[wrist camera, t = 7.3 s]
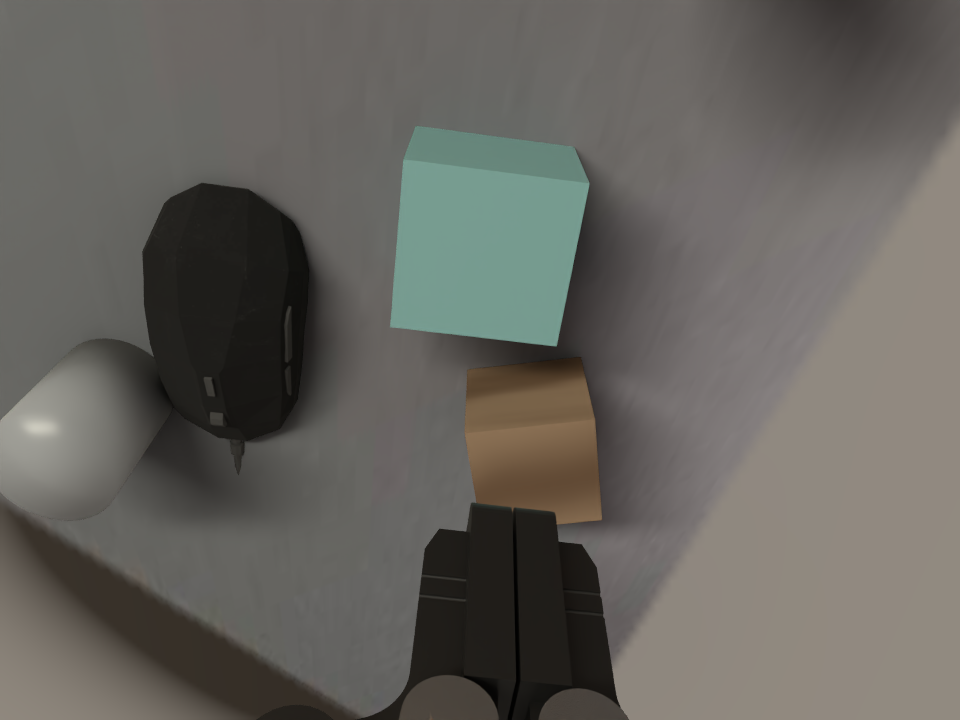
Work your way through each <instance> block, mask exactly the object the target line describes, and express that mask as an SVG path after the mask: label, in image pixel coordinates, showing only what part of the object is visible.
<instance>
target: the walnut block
mask: <svg viewBox="0 0 960 720" xmlns="http://www.w3.org/2000/svg"><path fill="white" fill-rule="evenodd" d="M465 438H466V444H467V450H468V455H469V461H470V467H471V473H472V479H473V484H474V490H475V496H476V502H477V503H480V504H489V505H498V506H506V507H511V508H512V512H513V509H514V507H517V508H526V509H535V510H544V511H552V512H555V515H556V522H557V524H566V523H577V522H587V521H597V520H602V512H601V498H600V484H599V470H598V455H597V441H596V427H595V417H594V413H593V409H592V404H591V400H590V395H589V391H588V387H587V382H586V378H585V373H584V369H583V365H582V360H581V357H575V358H566V359H557V360H548V361H539V362H531V363H522V364H513V365H504V366H495V367H486V368H477V369H468V370H467V391H466V414H465Z"/></svg>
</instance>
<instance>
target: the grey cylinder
mask: <svg viewBox="0 0 960 720" xmlns="http://www.w3.org/2000/svg"><path fill="white" fill-rule="evenodd" d="M172 408H173V404H172V402H171V400H170V398H169V396H168V394H167V392H166V390H165V387H164V385H163V383H162V381H161V378H160V375H159V372H158V368H157V365H156V362H155V358H153V357H152V356H151V355H150V354H148V353H147V352H145V351H144V350H142V349H140V348H139V347H137V346H135V345H132V344H130V343H127V342H123V341H120V340H114V339H95V340H90V341H86V342H83V343H81V344H79V345H77V346H76V347H75V348H73V349H72V350H71V351H70V352H69V353H68V354H67V355H66V356H65V357H64V358H63V359H62V360H61V361H60V362H59V363H58V364H57V365H56V366H55V367H54V368H53V369H52V370H51V371H50V372H49V373H48V374H47V375H46V376H45V377H44V378H43V379H42V380H41V381H40V382H39V383H38V384H37V385H36V386H35V387H34V388H33V389H32V390H31V391H30V392H29V393H28V394H27V395H26V396H25V397H24V398H23V399H22V400H21V401H20V402H19V403H18V404H16V405H15V406H14V407H13V408H12V409H11V410H10V411H9V412H8V413H7V414H6V415H5V416H4V417H3V418H2V419H1V420H0V492H1V493H2V494H3V495H4V496H5V497H6V498H7V499H8V500H10V501H11V502H13V503H14V504H16V505H17V506H19V507H21V508H22V509H24V510H26V511H28V512H31V513H33V514H36V515H38V516H41V517H45V518H49V519H55V520H64V521H73V520H81V519H86V518H90V517H92V516H95V515H97V514H99V513H100V512H102V511H103V510H105V509H106V508H107V507H108V506H109V505H110V503H111V502H112V501H113V499H114V498H115V496H116V495H117V493H118V492H119V490H120V489H121V487H122V486H123V484H124V483H125V481H126V480H127V478H128V477H129V475H130V474H131V472H132V471H133V469H134V468H135V466H136V465H137V463H138V462H139V460H140V459H141V457H142V456H143V454H144V453H145V451H146V450H147V448H148V447H149V445H150V444H151V442H152V441H153V439H154V438H155V436H156V435H157V433H158V432H159V430H160V429H161V427H162V426H163V424H164V423H165V421H166V420H167V418H168V417H169V415H170V413H171V411H172Z"/></svg>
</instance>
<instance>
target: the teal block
mask: <svg viewBox="0 0 960 720" xmlns="http://www.w3.org/2000/svg"><path fill="white" fill-rule="evenodd" d="M589 184H590V183H589V181H588V178H587V176H586V174H585V171H584V169H583V167H582V165H581V162H580V160H579V158H578V155H577V153H576V151H575V148H574V147H570V146H563V145H555V144H548V143H540V142H533V141H525V140H518V139H511V138H503V137H496V136H488V135H481V134H473V133H466V132H458V131H451V130H443V129H436V128H428V127H421V126H416V127H415V130H414V132H413V135H412V138H411V141H410V143H409V146H408V149H407V151H406V154H405V157H404V160H403V173H402V186H401V198H400V211H399V223H398V236H397V249H396V261H395V274H394V286H393V299H392V312H391V324H390V327H394V328H403V329H412V330H420V331H429V332H437V333H446V334H454V335H463V336H471V337H480V338H488V339H497V340H505V341H514V342H523V343H531V344H540V345H548V346H557V342H558V337H559V332H560V327H561V322H562V317H563V312H564V307H565V302H566V298H567V293H568V288H569V283H570V278H571V273H572V268H573V263H574V258H575V253H576V248H577V243H578V238H579V234H580V229H581V224H582V219H583V214H584V209H585V204H586V199H587V194H588V189H589Z"/></svg>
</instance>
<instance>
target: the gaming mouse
mask: <svg viewBox="0 0 960 720" xmlns="http://www.w3.org/2000/svg"><path fill="white" fill-rule="evenodd" d="M142 255H143V275H144V307H145V314H146V320H147V327H148V333H149V340H150V345H151V348H152V352H153V355H154V358H155V362H156V365H157V368H158V372H159V375H160V378H161V381H162V383H163V385H164V387H165V390H166V392H167V394H168V396H169V398H170V400H171V402H172V404H173V406H174V408H175V409H176V410H177V411H178V412H179V413H180V414H181V415H182V416H183V417H184V418H185V419H187V420H188V421H190V422H192V423H194V424H195V425H197V426H199V427H201V428H202V429H204V430H206V431H208V432H210V433H211V434H213V435H215V436H217V437H218V438H227V439H231V441H230V444H231V453H232V455H234V459H235V467H236V470H237V473H238V475H239V472H240V468H241V455H242V454H244V442H242V440H245V441H248V440H251V439H253V438H256V437H259V436H262V435H264V434H267V433H270V432H273V431H276V430H278V429H280V428H281V426H282V424H283V423H284V421H285V420H286V418H287V416H288V415H289V413H290V412H291V410H292V408H293V407H294V405H295V403H296V401H297V400H298V393H299V385H300V377H301V370H302V357H303V340H304V328H305V319H306V310H307V301H308V280H309V269H308V264H307V260H306V256H305V252H304V248H303V244H302V240H301V236H300V233H299V231H298V230H297V228H296V227H295V225H294V224H293V222H292V221H291V219H289V218H288V217H287V216H285V215H284V214H282V213H281V212H280V211H278V210H277V209H275V208H274V207H273V206H271V205H270V204H268V203H267V202H266V201H264V200H263V199H261V198H260V197H259V196H257V195H256V194H254V193H253V192H251V191H250V190H249V189H244V188H236V187H229V186H221V185H214V184H206V183H201V184H198V185H196V186H194V187H192V188H190V189H188V190H186V191H184V192H181V193H179V194H177V195H175V196H173V197H171V198H170V199H169V200H167V201H166V202H165V203H164V205H163V207H162V210H161V212H160V214H159V216H158V218H157V221H156V223H155V225H154V227H153V229H152V231H151V234H150V236H149V238H148V240H147V242H146V245H145V247H144V249H143V251H142Z"/></svg>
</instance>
